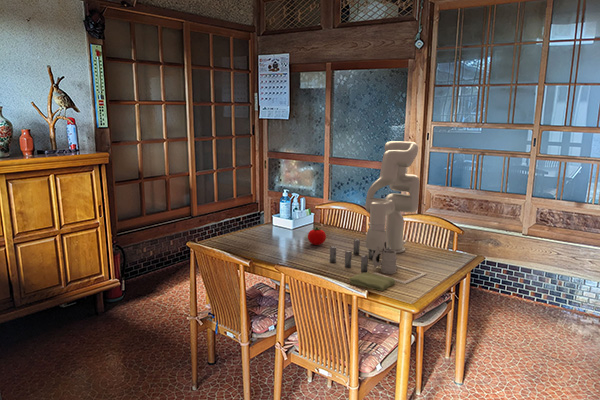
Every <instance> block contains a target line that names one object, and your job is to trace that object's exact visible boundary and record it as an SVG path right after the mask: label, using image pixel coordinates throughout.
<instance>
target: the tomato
mask: <svg viewBox="0 0 600 400" xmlns="http://www.w3.org/2000/svg"><path fill="white" fill-rule="evenodd" d="M321 228H322V227H319V228H318V227H315V228H314V227H312V228H311V230H309V232H308V233H307V241H308V242H309V243H310V244H311V245H314V246H320V245H322V244H324V243H325V241H326V239H327V235H326V232H325V231H324V230H322V229H321Z"/></svg>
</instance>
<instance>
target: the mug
mask: <svg viewBox="0 0 600 400" xmlns="http://www.w3.org/2000/svg"><path fill="white" fill-rule="evenodd" d="M378 254H381V261H379V262H377V261H376V257H377V256H378ZM397 260H398V258H397V253H396V251H393V250H386V253H385V252H384V251H383V252H382V251H381V252H380V251H379V248H378V246H376V251H375V253H374V256H373V259H372V265H373V267H374V268H375V269H376V268H377V267H379V266H380V272H381V273H383V274H386V275H388V274H389V275H391V274H395V273H396V272H397V269H398V268H397V267H396V265H397Z"/></svg>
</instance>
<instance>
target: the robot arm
mask: <svg viewBox="0 0 600 400" xmlns="http://www.w3.org/2000/svg"><path fill="white" fill-rule="evenodd" d="M418 153H419V146H418V143H416V142H414V141H399V140H397V141H395V140H391V141H387V142H386V143H385V144H384V152H383V156H382V162H381V165H380V172H379V177H378V178H377V179H376V180H375V181H374V182H373V183H371V185H370V187H369V188H368V190H367V193H366V199H365V204H364V205H365V207H364V208H365V210H366V212H367V213H369V222H368V223H367V225H368V226H369V227H368V228H367V231H366V236H365V248H366V249H367V251H369V250H370V251H371V253H372V255H373V256H374V253H375V251H376V246H378V248H379V251H380V252H381V251H382V252H383V251H384V252H385V253H386V249H387V247H391V250H393V251H396V254H398V253H404V252H406V247H405V246H404V245H405V244H407V240H405V239H404V223H405V222H404V221H405V219H404V216H403V214H402V212H404V213H416V212H417V211H418V207H419V197H420V178H419V177H418V175H416V174H409V173H407V168H410V167H411V166H412V165H413V163H414V161H415V159H416V157H417V155H418ZM386 186H389V189H390V190H392V191H394V192H403V193H389V194H387V195H386V196H385V198H379V197H375V194H376V193H377V191H379V190H380V189H382V188H384V187H386ZM405 193H408V194H405ZM381 256H382V254H378V256H377V257H376V261H377V262H380V257H381Z"/></svg>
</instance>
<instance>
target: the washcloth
mask: <svg viewBox="0 0 600 400" xmlns="http://www.w3.org/2000/svg"><path fill="white" fill-rule="evenodd" d="M390 277H391V276H388V277H384V276H380V275H376V274H373V273H370V272H367V273H358V274H355V275H354V276H351V277H349V278H348V280H349V282H350V284H351V285H355V286H359V287H364V288H366V287H368V288H367V289H370V288H373V289H372V290H374V289H377V290H376V291H378V290H380V291H379V292H383V291H385V290H387V289H388V288H390V287H392V286H393V285H395V284H396V281H395V280H394V279H393V278H394V277H392V278H390ZM386 288H387V289H386Z"/></svg>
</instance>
